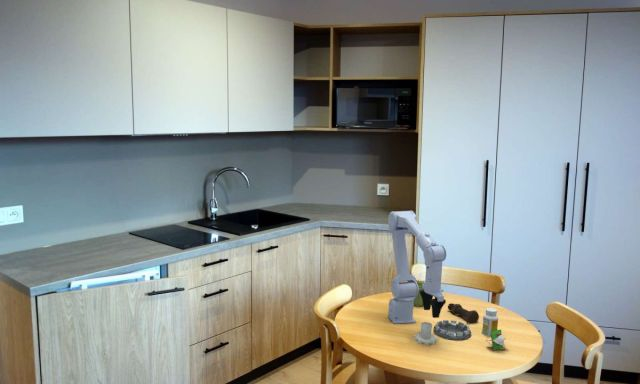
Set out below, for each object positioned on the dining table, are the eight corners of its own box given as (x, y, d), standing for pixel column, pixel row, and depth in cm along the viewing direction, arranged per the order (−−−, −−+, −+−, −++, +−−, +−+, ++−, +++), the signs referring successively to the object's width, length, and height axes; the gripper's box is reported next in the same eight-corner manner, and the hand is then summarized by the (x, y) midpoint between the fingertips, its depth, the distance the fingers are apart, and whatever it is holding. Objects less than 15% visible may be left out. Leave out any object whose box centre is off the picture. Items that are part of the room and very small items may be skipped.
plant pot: (431, 302, 235) (432, 283, 234) (426, 309, 226) (427, 289, 225) (410, 299, 239) (411, 280, 237) (405, 305, 230) (406, 286, 229)
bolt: (451, 314, 227) (474, 326, 213) (443, 310, 224) (466, 322, 211) (457, 302, 227) (481, 313, 213) (449, 298, 225) (472, 309, 211)
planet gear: (419, 345, 190) (420, 329, 189) (410, 336, 198) (411, 320, 197) (440, 344, 192) (441, 328, 191) (431, 334, 200) (432, 319, 199)
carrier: (442, 341, 194) (443, 335, 194) (427, 326, 208) (428, 320, 208) (477, 339, 197) (478, 332, 197) (460, 324, 211) (460, 318, 211)
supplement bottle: (496, 332, 204) (498, 308, 203) (496, 337, 199) (498, 313, 198) (482, 330, 206) (484, 306, 205) (481, 335, 201) (483, 310, 200)
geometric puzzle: (480, 337, 194) (489, 325, 188) (495, 335, 196) (505, 324, 191) (488, 355, 189) (498, 344, 184) (504, 353, 191) (515, 342, 186)
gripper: (452, 283, 188) (450, 320, 190) (435, 271, 202) (432, 306, 204) (434, 284, 186) (431, 321, 188) (417, 272, 200) (415, 306, 202)
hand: (431, 313), depth 196 cm, fingers open, 7 cm apart
